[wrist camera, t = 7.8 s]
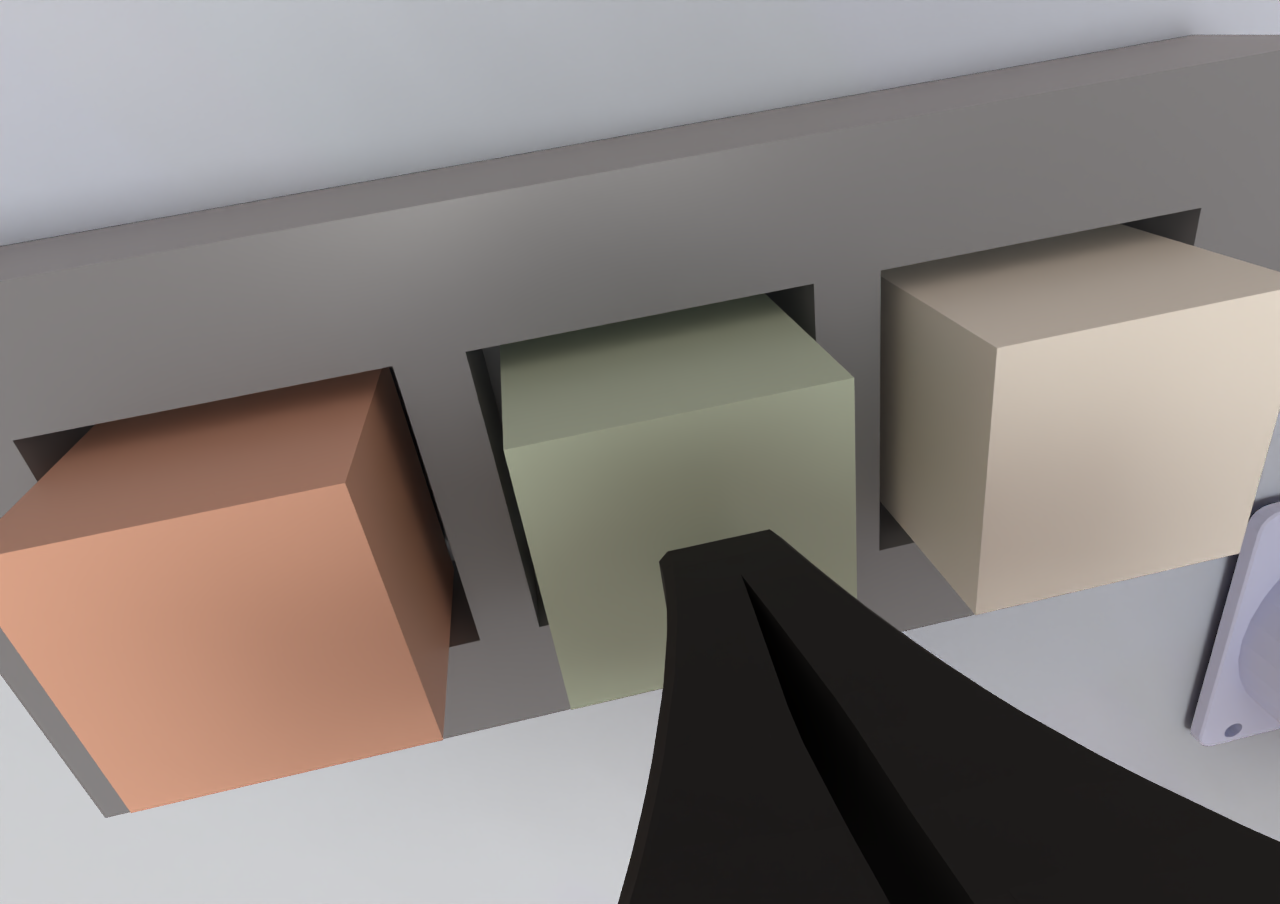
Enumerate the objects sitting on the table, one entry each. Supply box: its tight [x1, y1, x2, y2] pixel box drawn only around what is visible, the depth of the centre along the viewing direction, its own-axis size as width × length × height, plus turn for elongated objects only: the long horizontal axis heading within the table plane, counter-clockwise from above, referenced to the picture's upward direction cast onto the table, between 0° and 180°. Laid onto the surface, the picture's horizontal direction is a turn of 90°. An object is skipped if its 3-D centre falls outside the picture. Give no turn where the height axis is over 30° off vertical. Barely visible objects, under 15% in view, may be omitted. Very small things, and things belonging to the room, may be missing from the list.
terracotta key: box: [0, 367, 454, 813], centre depth 12 cm, size 4×4×4 cm
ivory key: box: [880, 224, 1280, 615], centre depth 12 cm, size 4×4×4 cm
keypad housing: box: [0, 35, 1280, 818], centre depth 14 cm, size 21×9×3 cm, turn 98°
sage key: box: [500, 293, 857, 710], centre depth 12 cm, size 4×4×4 cm
